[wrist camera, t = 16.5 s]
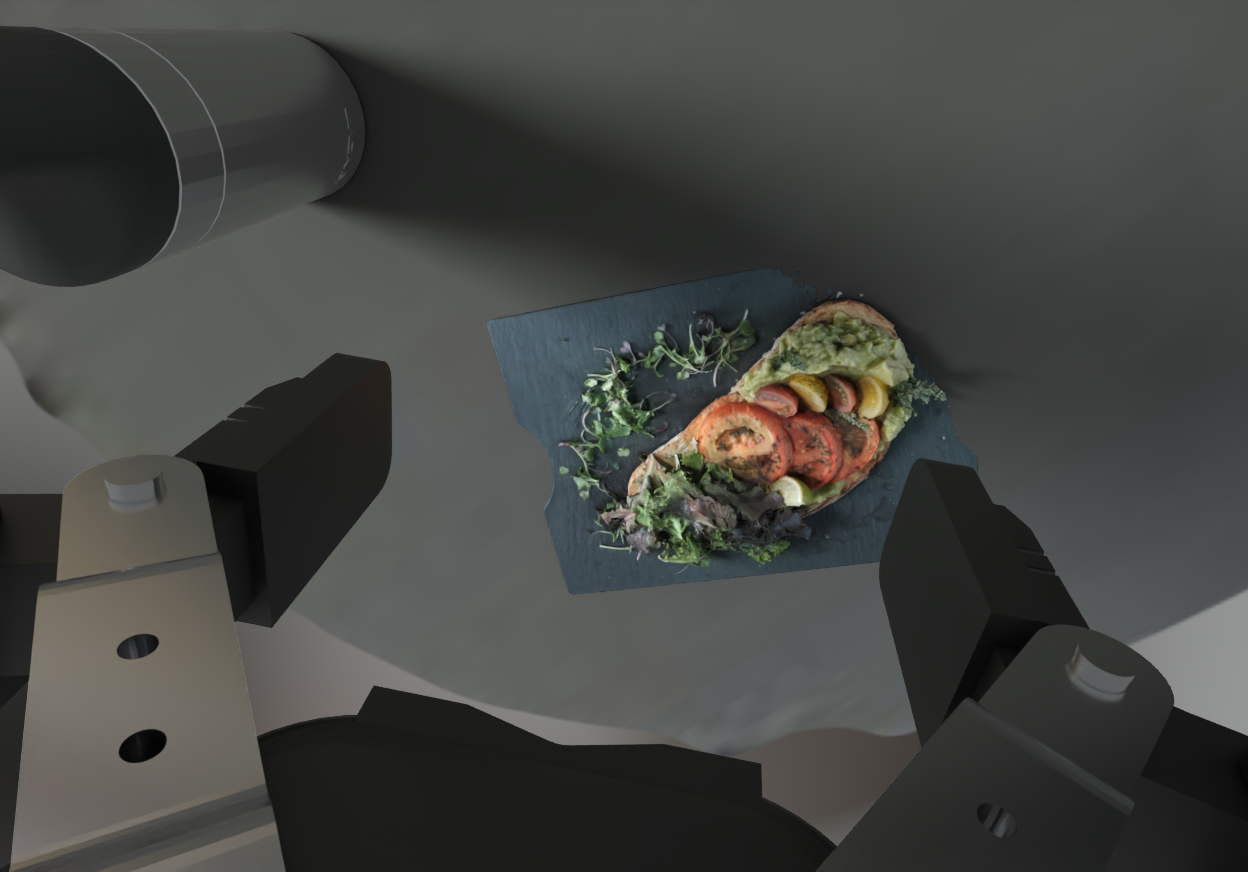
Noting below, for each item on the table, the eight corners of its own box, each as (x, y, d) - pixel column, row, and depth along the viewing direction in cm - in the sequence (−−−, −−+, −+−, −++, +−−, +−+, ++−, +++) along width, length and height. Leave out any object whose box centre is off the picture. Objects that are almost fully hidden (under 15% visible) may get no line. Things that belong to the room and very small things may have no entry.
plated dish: (1010, 148, 42) (1057, 171, 36) (1028, 565, 54) (1065, 638, 48) (428, 282, 51) (382, 320, 44) (553, 619, 63) (531, 687, 56)
